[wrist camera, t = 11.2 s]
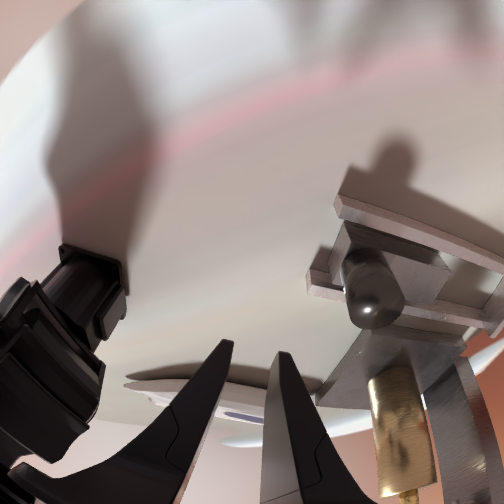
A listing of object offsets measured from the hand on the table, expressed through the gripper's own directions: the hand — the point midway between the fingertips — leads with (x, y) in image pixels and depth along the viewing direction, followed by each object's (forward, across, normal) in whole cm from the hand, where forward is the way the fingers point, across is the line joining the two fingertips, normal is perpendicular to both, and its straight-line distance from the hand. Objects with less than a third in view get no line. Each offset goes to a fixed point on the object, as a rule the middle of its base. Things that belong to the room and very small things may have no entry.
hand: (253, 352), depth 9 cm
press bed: (+10, -18, +12) cm, 24 cm away
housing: (+8, -16, +12) cm, 22 cm away
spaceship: (+10, 0, +22) cm, 24 cm away
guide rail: (+10, -13, 0) cm, 16 cm away
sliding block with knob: (+10, -8, 0) cm, 13 cm away
